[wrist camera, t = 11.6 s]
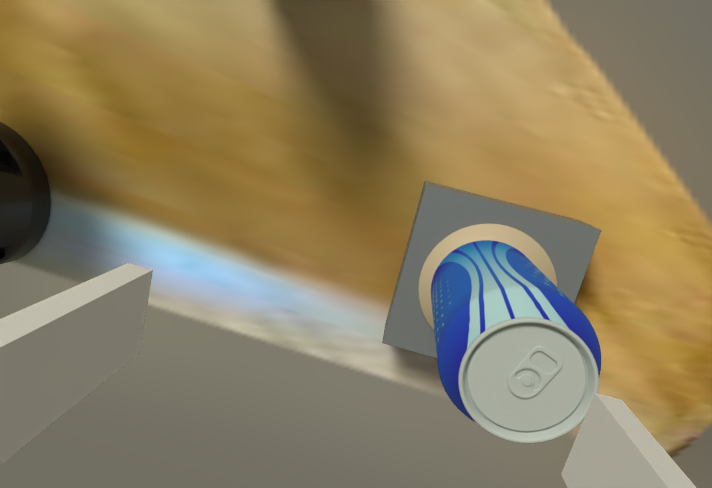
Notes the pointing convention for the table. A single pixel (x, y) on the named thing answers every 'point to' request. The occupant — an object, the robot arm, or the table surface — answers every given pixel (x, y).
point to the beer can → (511, 344)
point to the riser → (475, 223)
